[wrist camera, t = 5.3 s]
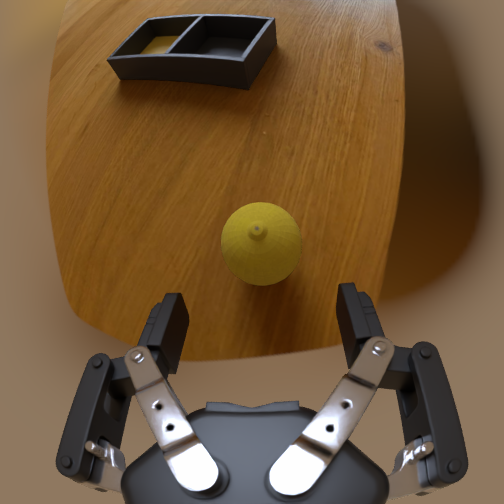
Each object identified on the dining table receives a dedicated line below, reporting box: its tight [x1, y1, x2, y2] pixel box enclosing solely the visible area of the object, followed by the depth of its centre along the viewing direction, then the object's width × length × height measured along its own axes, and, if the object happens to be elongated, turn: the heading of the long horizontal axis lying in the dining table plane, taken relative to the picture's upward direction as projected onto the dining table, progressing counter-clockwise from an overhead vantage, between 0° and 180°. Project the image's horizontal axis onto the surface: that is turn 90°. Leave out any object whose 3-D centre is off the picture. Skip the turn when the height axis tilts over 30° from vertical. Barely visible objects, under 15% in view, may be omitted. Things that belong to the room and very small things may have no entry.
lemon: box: [221, 202, 302, 286], centre depth 19 cm, size 6×6×8 cm
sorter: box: [107, 14, 277, 90], centre depth 28 cm, size 10×20×4 cm, turn 69°
